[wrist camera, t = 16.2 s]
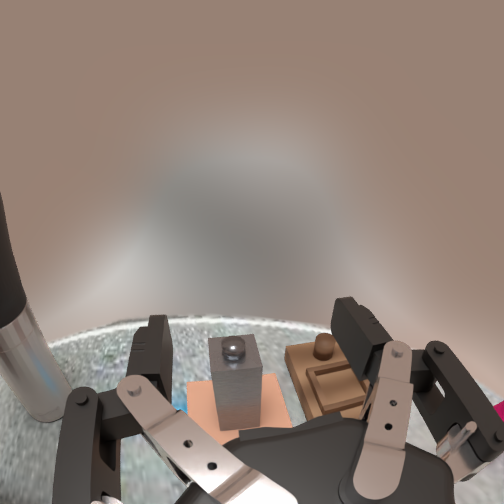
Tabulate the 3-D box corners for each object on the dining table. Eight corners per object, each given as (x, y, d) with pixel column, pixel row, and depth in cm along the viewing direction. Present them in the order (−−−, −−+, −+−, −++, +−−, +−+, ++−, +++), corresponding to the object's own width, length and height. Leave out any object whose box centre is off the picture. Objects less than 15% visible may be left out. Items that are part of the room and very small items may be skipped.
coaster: (297, 449, 29) (298, 446, 29) (191, 462, 27) (190, 459, 27) (274, 377, 41) (275, 373, 40) (187, 386, 39) (186, 382, 38)
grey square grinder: (259, 426, 32) (262, 358, 26) (220, 431, 31) (209, 363, 25) (253, 397, 36) (253, 325, 31) (216, 401, 36) (207, 329, 30)
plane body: (394, 443, 28) (411, 419, 26) (324, 467, 27) (335, 447, 24) (341, 349, 46) (347, 322, 43) (284, 359, 44) (287, 331, 42)
